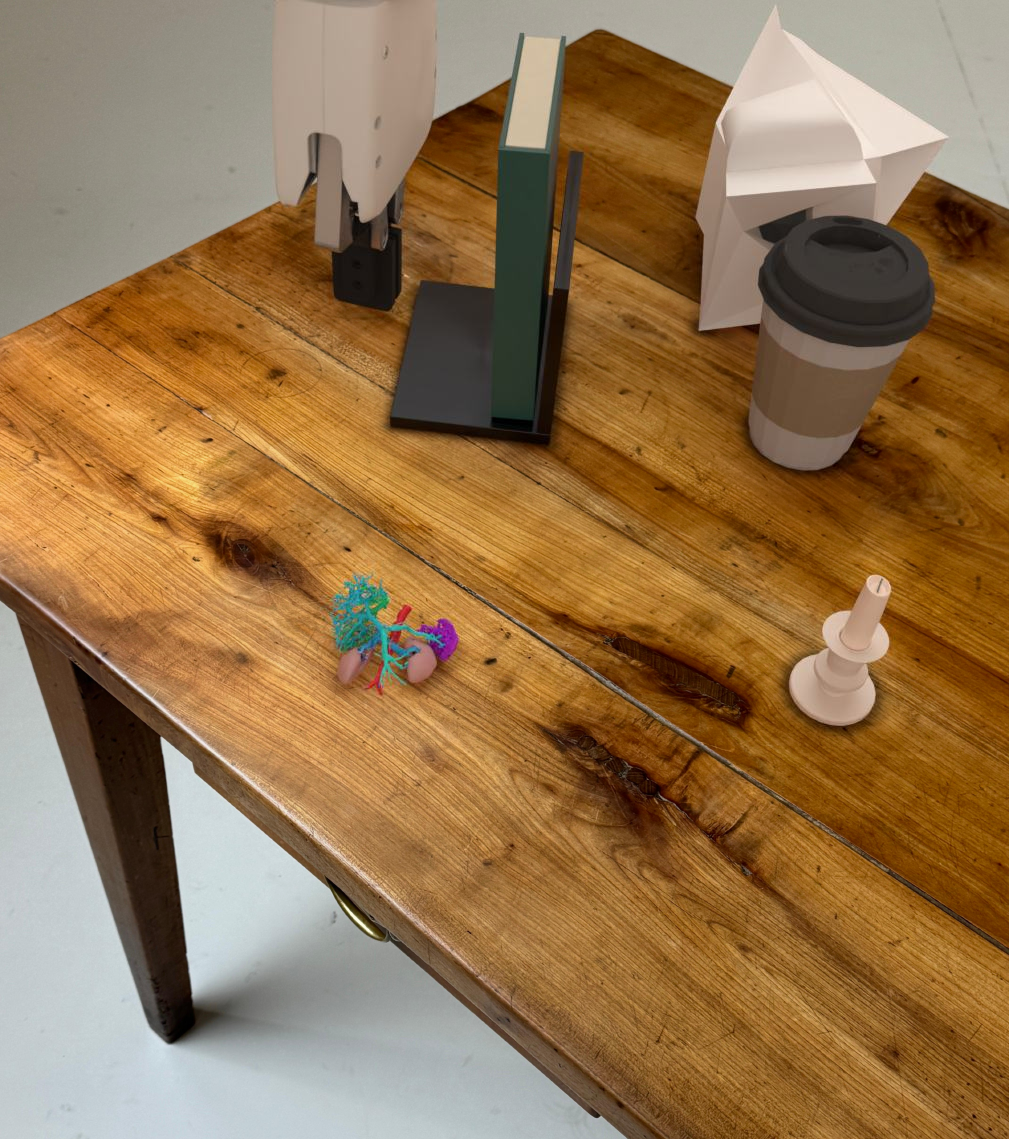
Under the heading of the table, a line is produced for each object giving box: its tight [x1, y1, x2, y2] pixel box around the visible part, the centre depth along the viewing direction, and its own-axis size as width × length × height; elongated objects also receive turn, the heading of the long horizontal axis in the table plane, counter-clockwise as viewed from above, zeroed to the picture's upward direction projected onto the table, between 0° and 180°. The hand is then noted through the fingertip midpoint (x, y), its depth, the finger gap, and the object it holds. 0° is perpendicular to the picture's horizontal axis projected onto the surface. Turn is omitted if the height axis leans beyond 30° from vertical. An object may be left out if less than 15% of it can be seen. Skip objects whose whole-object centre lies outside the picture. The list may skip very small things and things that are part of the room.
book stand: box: [389, 150, 585, 446], centre depth 90 cm, size 11×16×13 cm
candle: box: [788, 574, 892, 727], centre depth 74 cm, size 5×5×10 cm
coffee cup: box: [747, 215, 936, 471], centre depth 86 cm, size 11×11×15 cm
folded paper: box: [694, 4, 950, 332], centre depth 99 cm, size 17×24×17 cm
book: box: [491, 32, 567, 420], centre depth 86 cm, size 20×14×3 cm
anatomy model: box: [330, 571, 459, 697], centre depth 75 cm, size 5×8×7 cm
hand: (367, 296), depth 67 cm, fingers closed
